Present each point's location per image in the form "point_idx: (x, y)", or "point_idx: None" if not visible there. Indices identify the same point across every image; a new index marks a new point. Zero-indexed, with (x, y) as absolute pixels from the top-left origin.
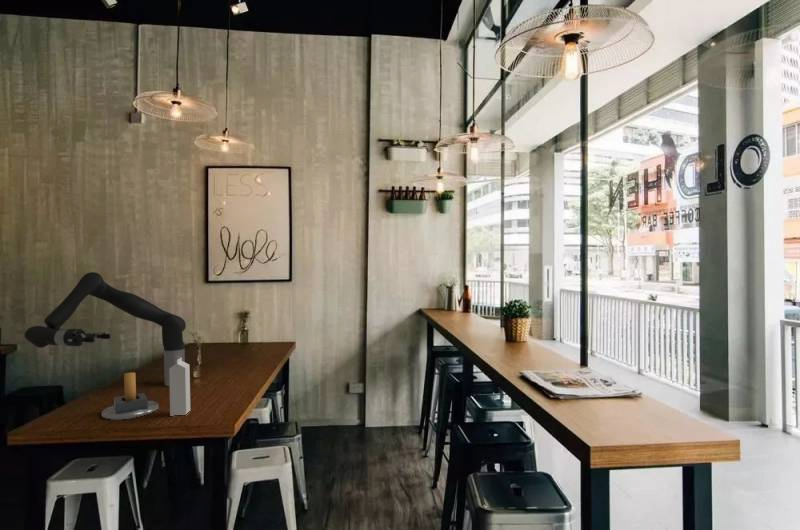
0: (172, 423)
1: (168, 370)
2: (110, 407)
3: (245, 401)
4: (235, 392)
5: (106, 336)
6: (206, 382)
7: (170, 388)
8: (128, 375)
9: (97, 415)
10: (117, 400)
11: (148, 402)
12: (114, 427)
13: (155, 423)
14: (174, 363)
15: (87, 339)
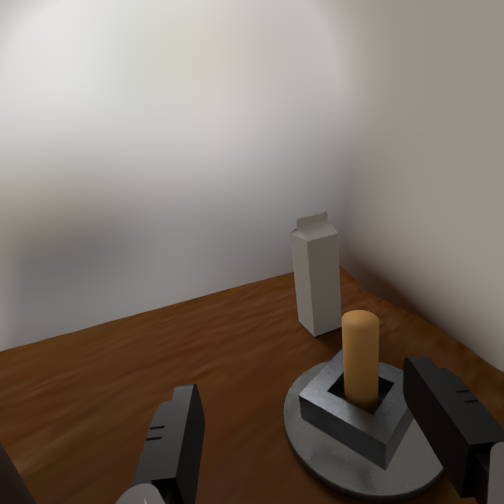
0: (366, 305)
1: (6, 500)
2: (395, 481)
3: (226, 293)
4: (166, 328)
5: (195, 430)
6: (29, 439)
7: (338, 274)
8: (372, 315)
9: (452, 496)
10: (399, 402)
11: (298, 407)
12: (456, 364)
13: (383, 323)
14: (3, 450)
15: (476, 412)
